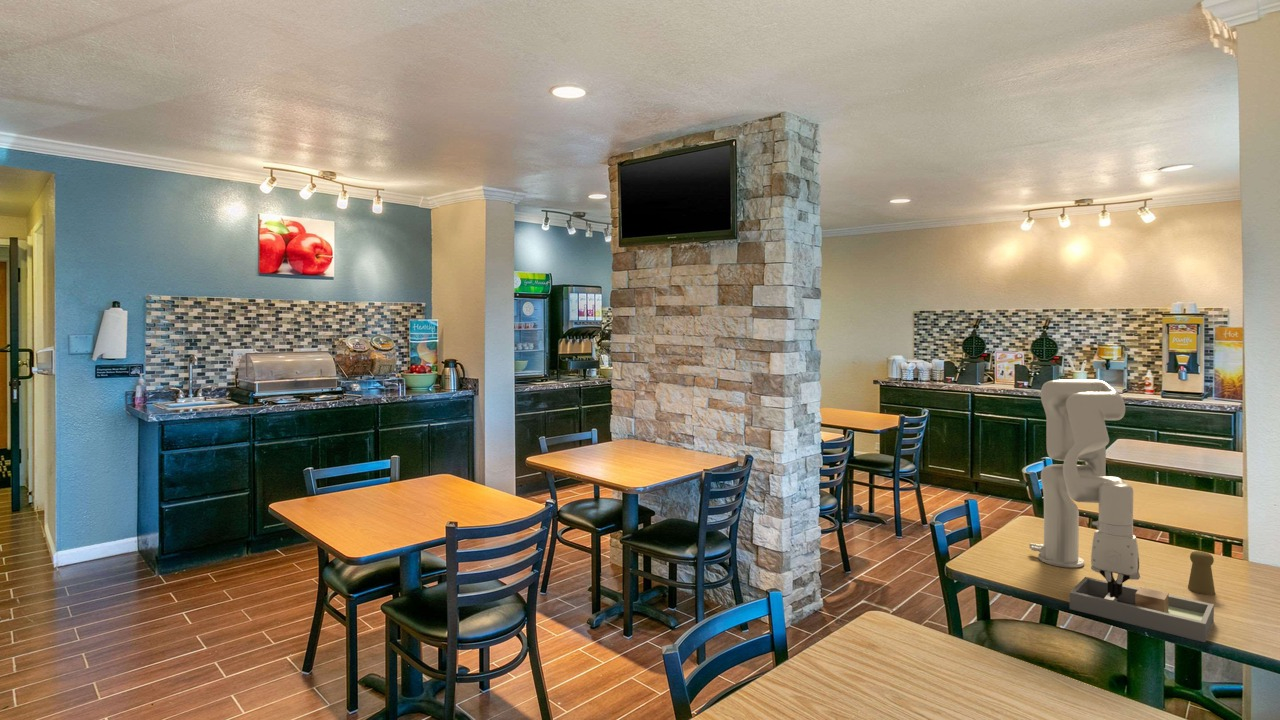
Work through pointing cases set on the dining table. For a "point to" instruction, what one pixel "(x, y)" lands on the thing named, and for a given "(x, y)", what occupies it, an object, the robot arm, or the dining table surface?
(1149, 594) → the walnut block
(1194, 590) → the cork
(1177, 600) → the channel
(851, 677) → the dining table surface
